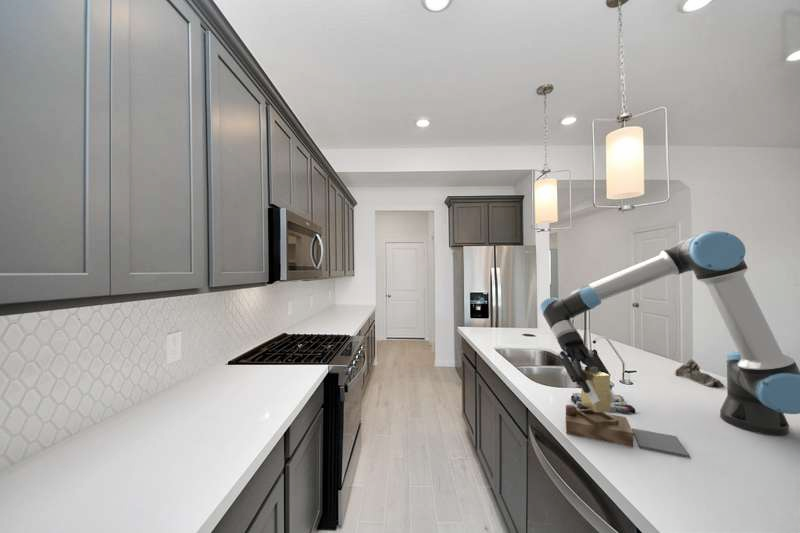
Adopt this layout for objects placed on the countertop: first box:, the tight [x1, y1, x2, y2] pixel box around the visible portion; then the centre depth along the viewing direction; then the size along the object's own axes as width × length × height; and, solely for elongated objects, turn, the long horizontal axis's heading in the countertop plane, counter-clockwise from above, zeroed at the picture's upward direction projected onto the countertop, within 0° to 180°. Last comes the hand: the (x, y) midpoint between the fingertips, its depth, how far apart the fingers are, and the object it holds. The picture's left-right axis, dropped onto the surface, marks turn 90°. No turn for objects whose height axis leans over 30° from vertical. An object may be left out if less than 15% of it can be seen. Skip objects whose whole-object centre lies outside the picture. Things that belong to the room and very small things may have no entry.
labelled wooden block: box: [580, 366, 611, 413], centre depth 100 cm, size 5×6×12 cm
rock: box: [674, 358, 725, 389], centre depth 146 cm, size 18×11×10 cm, turn 175°
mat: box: [631, 427, 691, 459], centre depth 93 cm, size 11×11×1 cm
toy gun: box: [570, 392, 636, 414], centre depth 120 cm, size 3×20×15 cm
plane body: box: [565, 404, 634, 448], centre depth 100 cm, size 17×11×6 cm
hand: (604, 401), depth 97 cm, fingers closed on labelled wooden block, 5 cm apart
